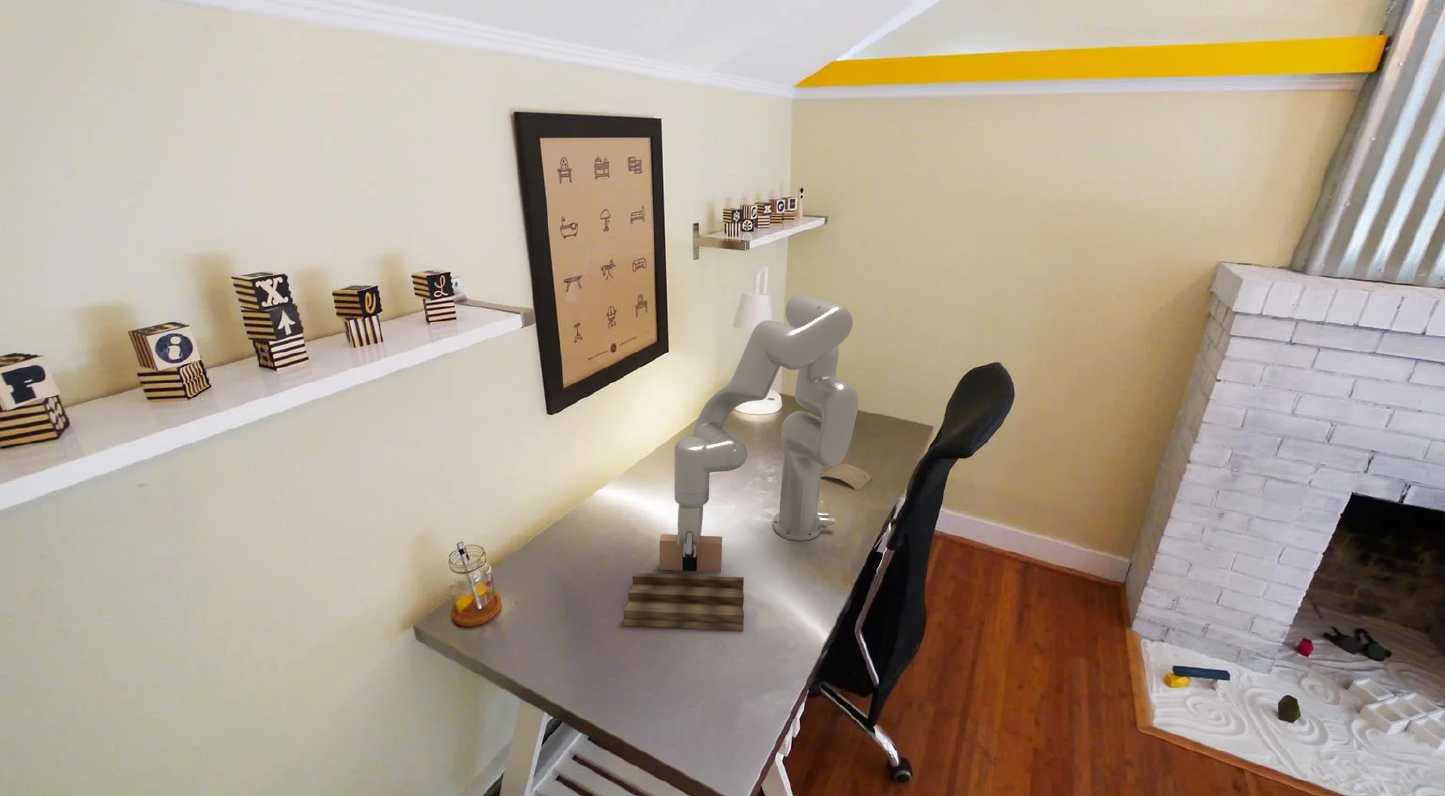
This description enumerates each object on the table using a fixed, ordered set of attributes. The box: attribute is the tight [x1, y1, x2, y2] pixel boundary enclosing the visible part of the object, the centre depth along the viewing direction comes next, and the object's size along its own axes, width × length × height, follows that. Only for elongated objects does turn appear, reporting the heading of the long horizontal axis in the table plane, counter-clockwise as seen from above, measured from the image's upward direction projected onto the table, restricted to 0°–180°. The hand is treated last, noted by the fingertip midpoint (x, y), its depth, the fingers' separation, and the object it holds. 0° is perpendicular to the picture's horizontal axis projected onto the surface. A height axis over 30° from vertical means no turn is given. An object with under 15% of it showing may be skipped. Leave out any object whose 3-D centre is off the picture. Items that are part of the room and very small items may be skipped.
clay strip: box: [659, 533, 723, 573], centre depth 134 cm, size 14×2×8 cm, turn 88°
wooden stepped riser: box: [623, 572, 745, 632], centre depth 123 cm, size 24×12×4 cm, turn 88°
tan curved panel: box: [821, 463, 873, 491], centre depth 177 cm, size 14×10×3 cm
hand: (690, 559), depth 135 cm, fingers open, 6 cm apart
